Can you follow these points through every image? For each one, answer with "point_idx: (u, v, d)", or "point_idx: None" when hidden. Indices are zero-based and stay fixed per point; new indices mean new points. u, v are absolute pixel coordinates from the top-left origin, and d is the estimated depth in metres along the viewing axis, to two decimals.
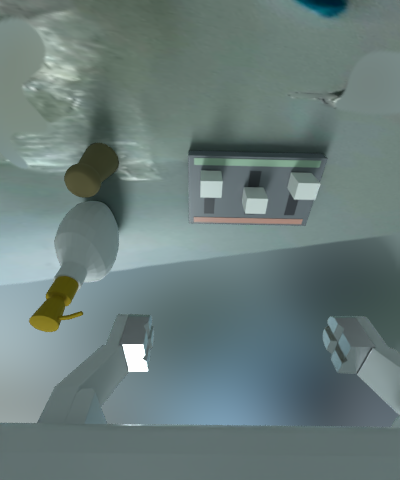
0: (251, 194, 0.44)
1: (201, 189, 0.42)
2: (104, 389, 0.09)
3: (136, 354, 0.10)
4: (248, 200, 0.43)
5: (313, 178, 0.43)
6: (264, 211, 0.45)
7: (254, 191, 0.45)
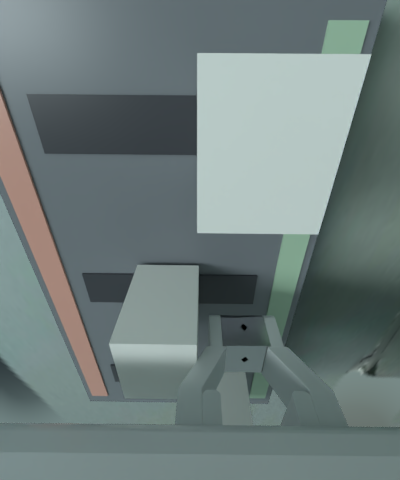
0: None
1: (281, 65, 0.04)
2: None
3: (237, 355, 0.10)
4: (185, 349, 0.09)
5: None
6: (136, 395, 0.10)
7: None
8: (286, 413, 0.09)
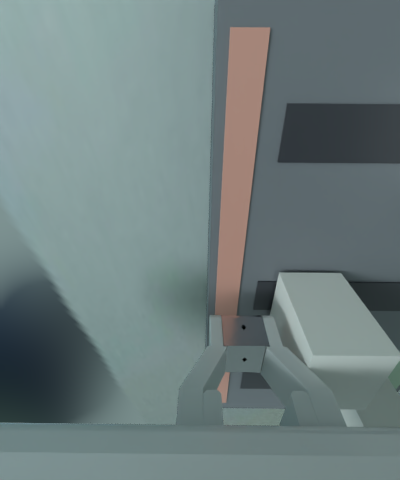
0: None
1: None
2: (212, 390, 0.09)
3: (238, 355, 0.10)
4: (387, 360, 0.09)
5: None
6: None
7: None
8: (285, 413, 0.09)
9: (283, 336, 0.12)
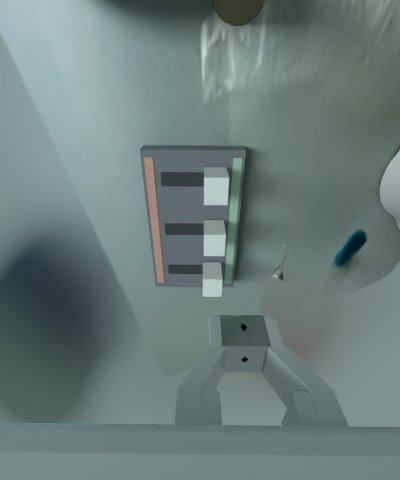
0: None
1: (216, 179, 0.30)
2: None
3: (237, 355, 0.10)
4: (223, 236, 0.35)
5: None
6: (207, 254, 0.36)
7: None
8: (286, 413, 0.09)
9: None
